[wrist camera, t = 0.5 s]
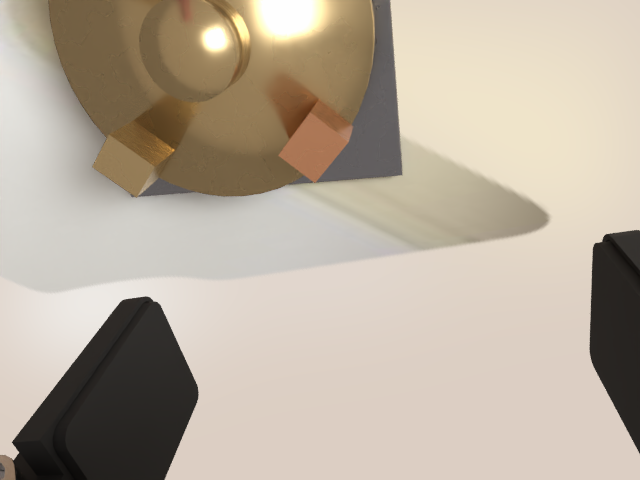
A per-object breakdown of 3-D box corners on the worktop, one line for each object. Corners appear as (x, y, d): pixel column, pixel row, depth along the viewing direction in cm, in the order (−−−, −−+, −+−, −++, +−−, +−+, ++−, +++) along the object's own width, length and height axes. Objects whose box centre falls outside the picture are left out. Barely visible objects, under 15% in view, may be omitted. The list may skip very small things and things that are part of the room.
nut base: (375, -210, 29) (372, -227, 27) (402, 170, 40) (402, 184, 38) (27, -128, 34) (-5, -135, 31) (137, 192, 45) (120, 206, 43)
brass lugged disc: (355, -200, 27) (345, -235, 22) (388, 174, 37) (385, 205, 33) (13, -120, 32) (-56, -135, 27) (126, 196, 42) (90, 225, 37)
